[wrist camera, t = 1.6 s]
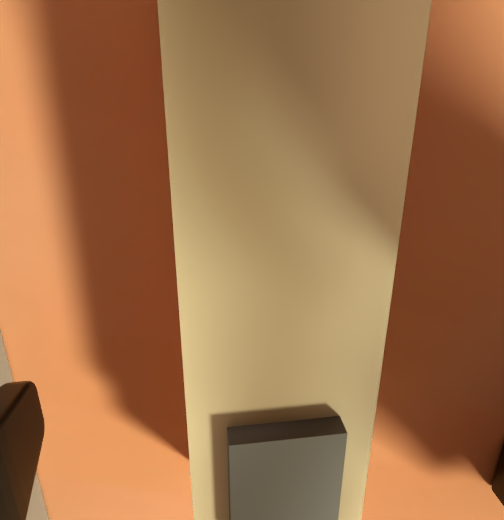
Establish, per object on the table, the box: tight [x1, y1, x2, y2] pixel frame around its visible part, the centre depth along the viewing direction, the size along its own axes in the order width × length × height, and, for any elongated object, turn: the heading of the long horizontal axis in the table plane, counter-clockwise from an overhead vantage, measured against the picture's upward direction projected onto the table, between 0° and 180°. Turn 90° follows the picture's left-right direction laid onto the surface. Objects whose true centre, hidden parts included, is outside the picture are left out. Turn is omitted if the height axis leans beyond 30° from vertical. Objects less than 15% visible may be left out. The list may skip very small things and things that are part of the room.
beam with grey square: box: [157, 0, 432, 520], centre depth 11 cm, size 4×14×5 cm, turn 0°
